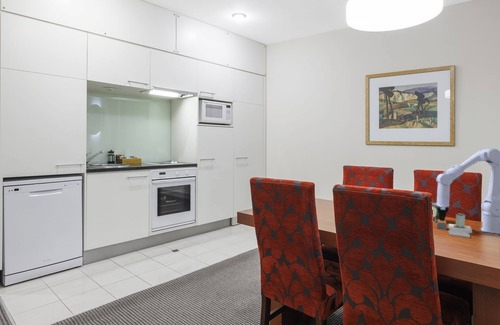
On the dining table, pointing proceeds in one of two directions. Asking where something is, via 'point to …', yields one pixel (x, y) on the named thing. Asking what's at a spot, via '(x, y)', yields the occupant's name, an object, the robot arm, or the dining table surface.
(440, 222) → the release plunger
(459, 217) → the cylinder
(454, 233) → the mat
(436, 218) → the food container
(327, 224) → the dining table surface
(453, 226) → the filter housing
